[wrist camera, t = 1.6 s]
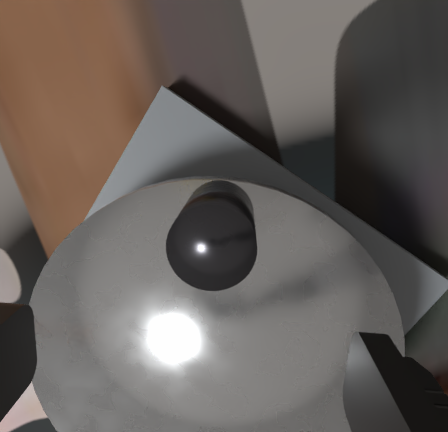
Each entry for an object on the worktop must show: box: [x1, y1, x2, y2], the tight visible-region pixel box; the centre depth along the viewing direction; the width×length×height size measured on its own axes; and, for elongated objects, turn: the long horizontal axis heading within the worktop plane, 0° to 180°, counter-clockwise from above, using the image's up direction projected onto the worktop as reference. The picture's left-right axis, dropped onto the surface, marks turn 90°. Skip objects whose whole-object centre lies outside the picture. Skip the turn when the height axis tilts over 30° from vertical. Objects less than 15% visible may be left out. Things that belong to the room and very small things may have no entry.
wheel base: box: [84, 86, 448, 336], centre depth 30 cm, size 26×26×6 cm
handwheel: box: [29, 176, 405, 432], centre depth 23 cm, size 25×25×8 cm
